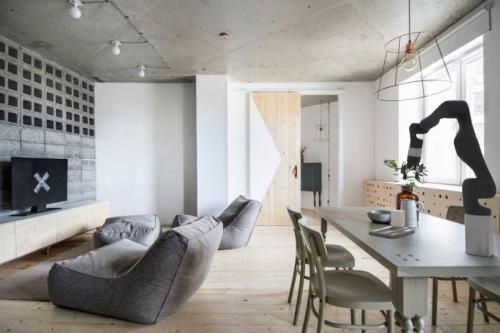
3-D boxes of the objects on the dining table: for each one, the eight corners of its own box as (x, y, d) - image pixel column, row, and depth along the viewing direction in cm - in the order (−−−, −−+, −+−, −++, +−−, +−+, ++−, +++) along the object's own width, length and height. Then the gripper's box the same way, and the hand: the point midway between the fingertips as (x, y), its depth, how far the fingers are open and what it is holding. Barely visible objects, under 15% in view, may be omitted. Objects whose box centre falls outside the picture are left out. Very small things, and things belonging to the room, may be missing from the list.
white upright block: (405, 229, 168) (405, 210, 168) (401, 230, 165) (400, 211, 165) (395, 227, 173) (394, 209, 173) (390, 228, 170) (390, 210, 170)
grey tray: (414, 232, 166) (414, 228, 166) (392, 238, 152) (392, 233, 152) (390, 228, 178) (390, 224, 178) (368, 233, 164) (368, 229, 164)
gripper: (409, 156, 173) (404, 181, 178) (429, 155, 176) (424, 180, 180) (400, 153, 180) (396, 178, 185) (419, 152, 183) (415, 177, 187)
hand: (410, 179), depth 182 cm, fingers open, 8 cm apart
